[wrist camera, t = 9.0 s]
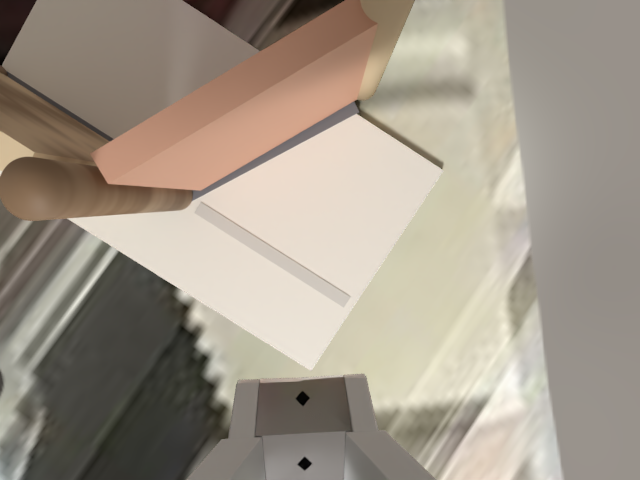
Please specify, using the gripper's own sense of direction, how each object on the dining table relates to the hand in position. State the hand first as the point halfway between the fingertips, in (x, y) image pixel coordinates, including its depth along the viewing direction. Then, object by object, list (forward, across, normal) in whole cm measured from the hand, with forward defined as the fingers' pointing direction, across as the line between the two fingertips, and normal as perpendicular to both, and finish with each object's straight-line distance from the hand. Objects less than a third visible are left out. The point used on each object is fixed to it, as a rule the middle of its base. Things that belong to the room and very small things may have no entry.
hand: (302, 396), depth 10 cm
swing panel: (+18, +1, -2) cm, 19 cm away
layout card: (+19, +6, 0) cm, 20 cm away
